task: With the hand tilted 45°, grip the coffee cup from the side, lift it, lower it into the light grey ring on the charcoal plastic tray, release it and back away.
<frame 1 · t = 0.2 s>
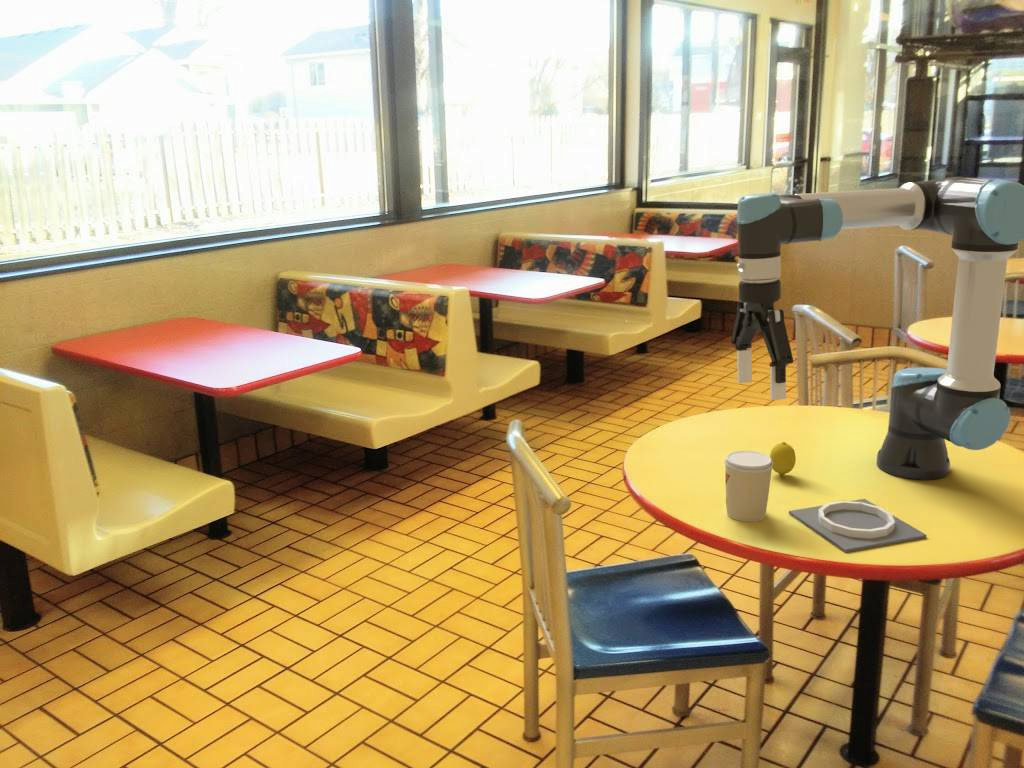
hand: (760, 390, 170), 27 cm above the table, tool pointing down, fingers open, 13 cm apart
cup tray: (855, 525, 175), on the table
lemon: (781, 476, 200), on the table
coffee cup: (745, 514, 181), on the table
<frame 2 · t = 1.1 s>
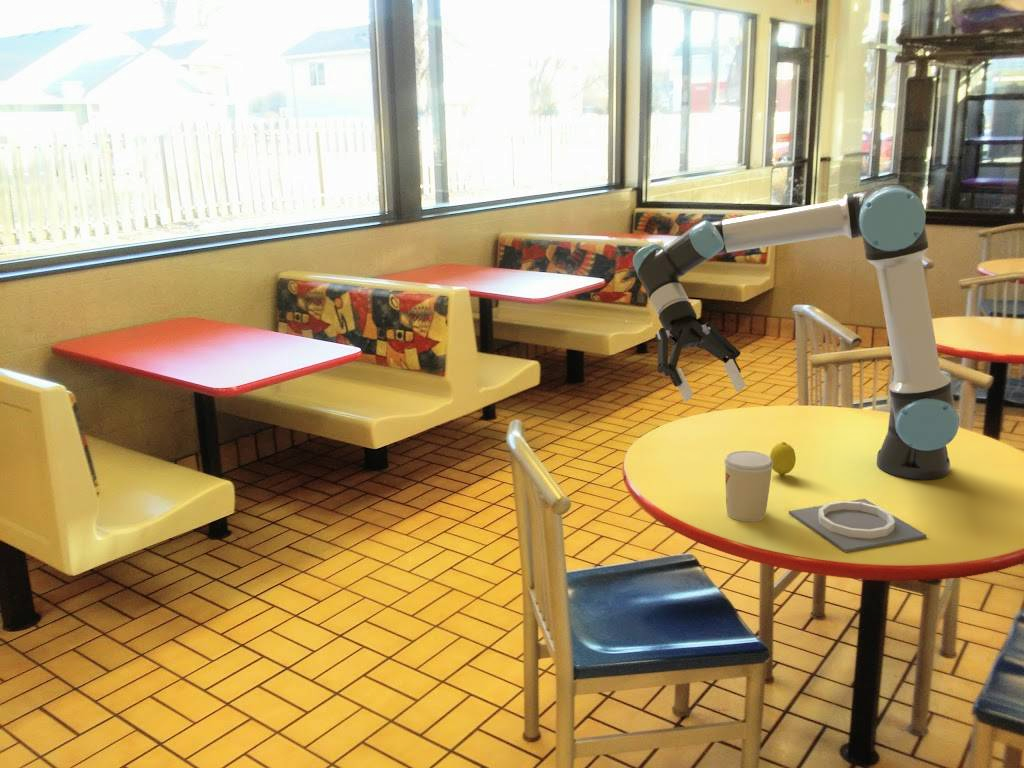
hand: (715, 393, 184), 23 cm above the table, tool tilted 45°, fingers open, 13 cm apart
nothing on the table moved.
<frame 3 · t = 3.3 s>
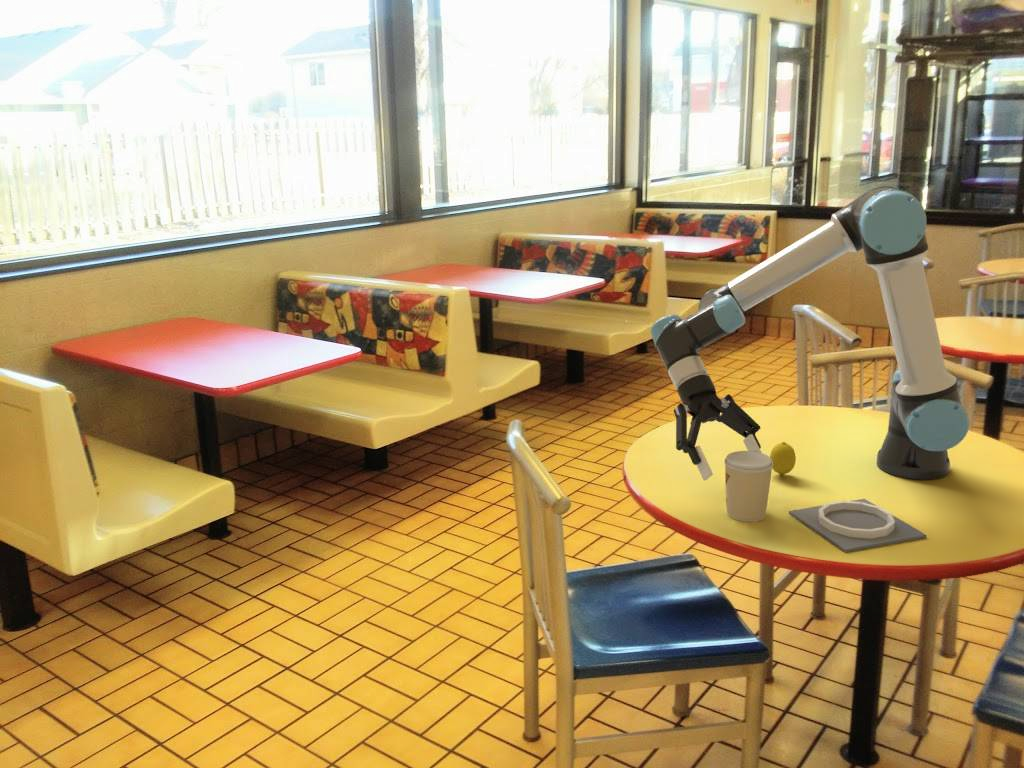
hand: (735, 471, 181), 8 cm above the table, tool tilted 45°, fingers open, 13 cm apart
nothing on the table moved.
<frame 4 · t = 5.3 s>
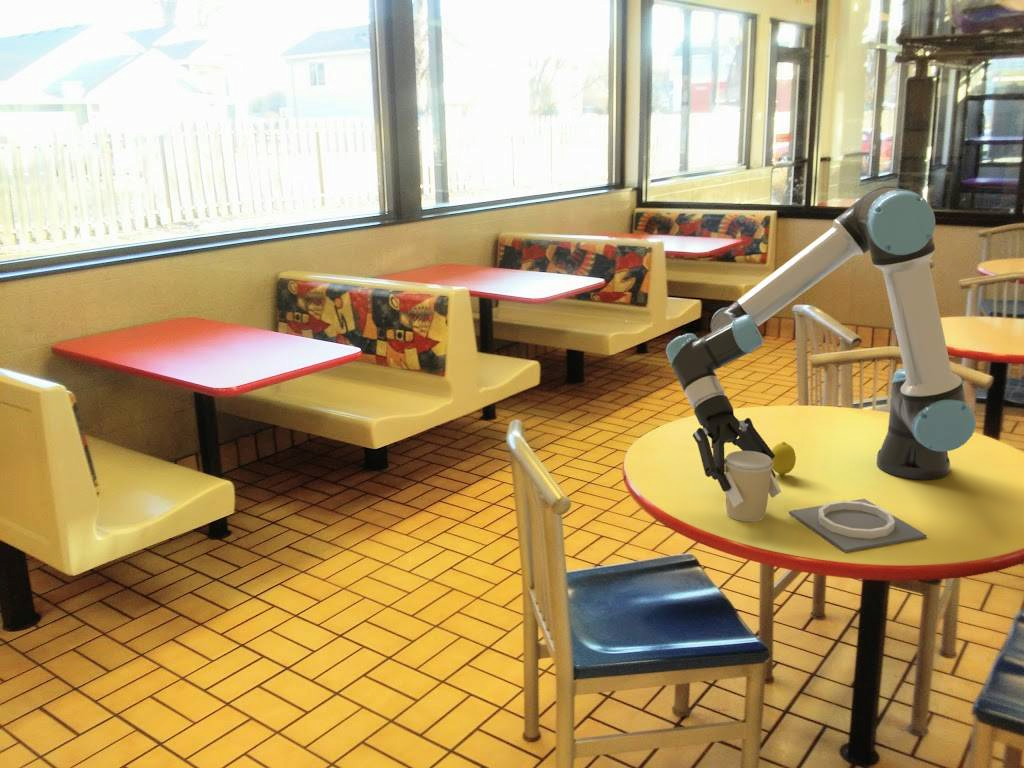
hand: (757, 499, 177), 4 cm above the table, tool tilted 45°, fingers closed on coffee cup, 9 cm apart
coffee cup: (745, 514, 181), on the table, touching gripper
everything else where it was.
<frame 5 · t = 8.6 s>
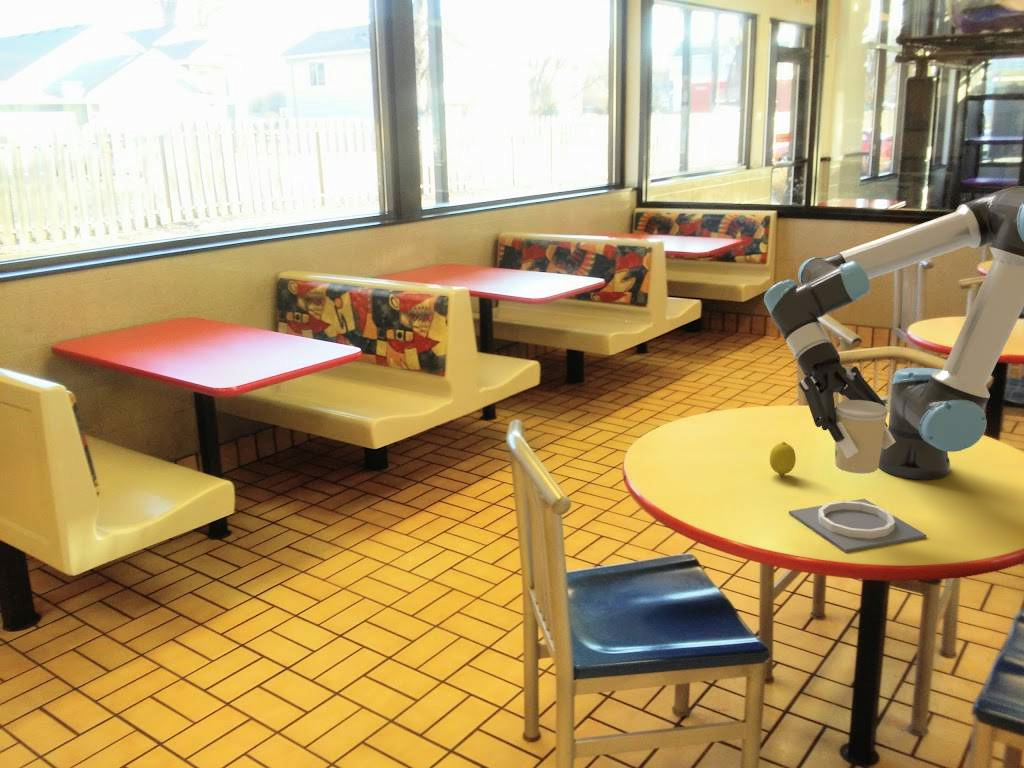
hand: (871, 450, 168), 17 cm above the table, tool tilted 45°, fingers closed on coffee cup, 9 cm apart
coffee cup: (856, 467, 172), point 12 cm above the table, touching gripper
everything else where it was.
when the fingers open (6 cm above the table, at t = 12.2 s): coffee cup drops 1 cm, resting on cup tray.
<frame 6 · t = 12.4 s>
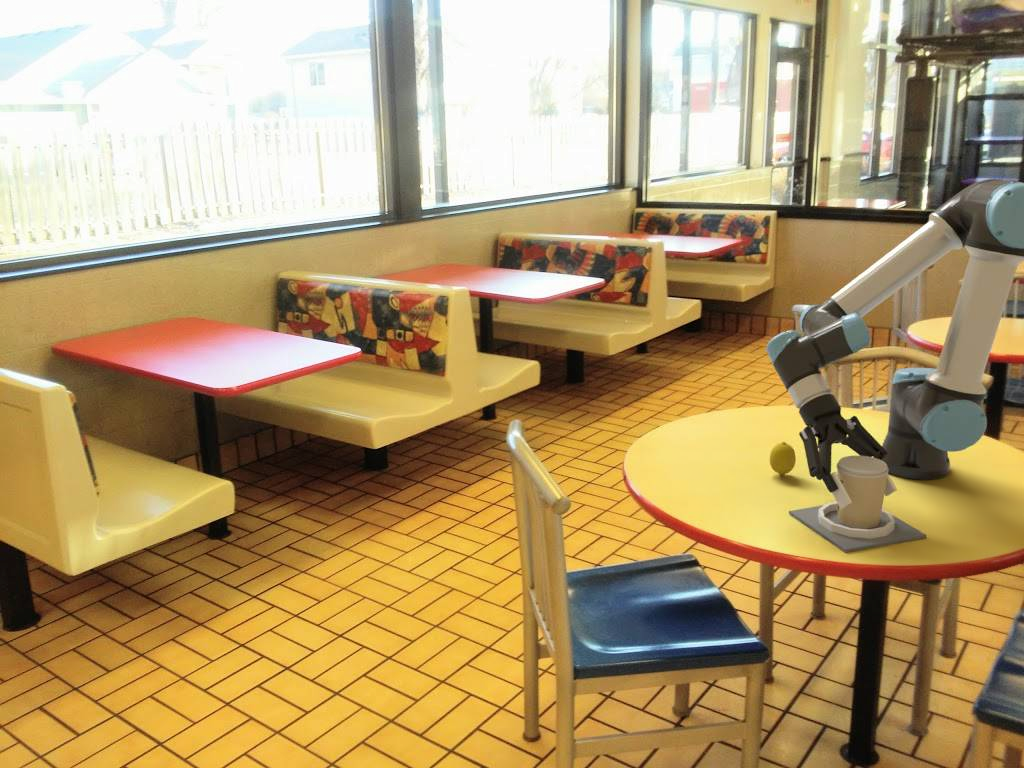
hand: (869, 499, 171), 7 cm above the table, tool tilted 45°, fingers open, 11 cm apart
coffee cup: (858, 521, 176), resting on cup tray, touching gripper
everything else where it was.
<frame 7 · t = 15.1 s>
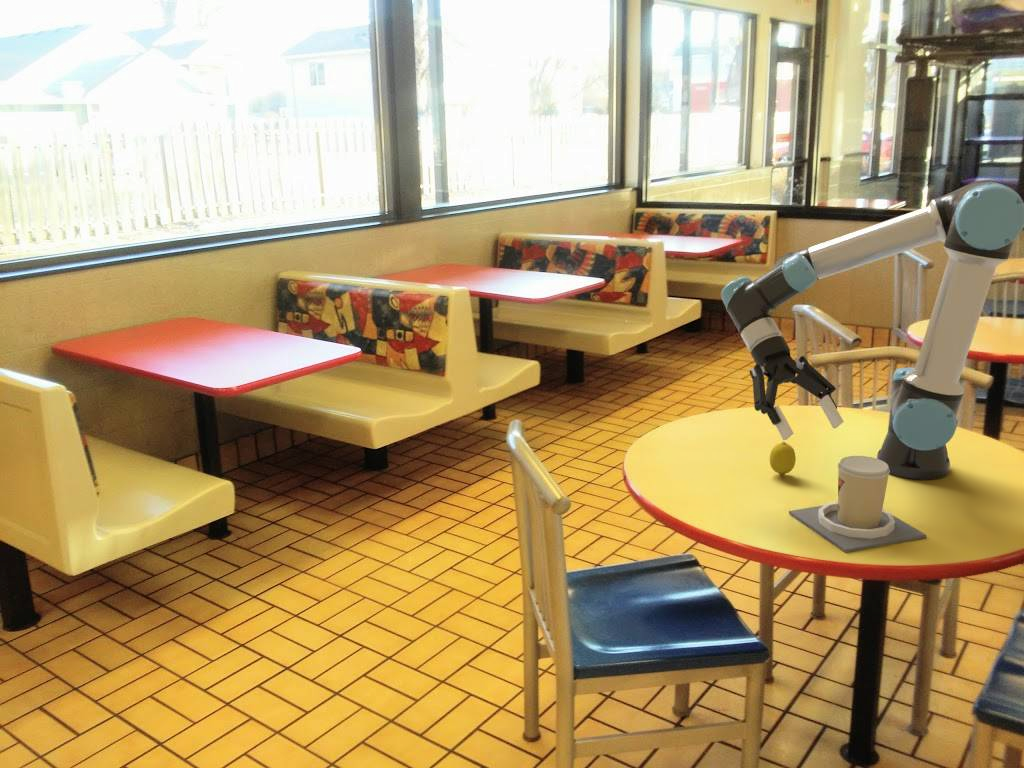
hand: (814, 431, 180), 16 cm above the table, tool tilted 45°, fingers open, 13 cm apart
coffee cup: (858, 521, 176), resting on cup tray
everything else where it was.
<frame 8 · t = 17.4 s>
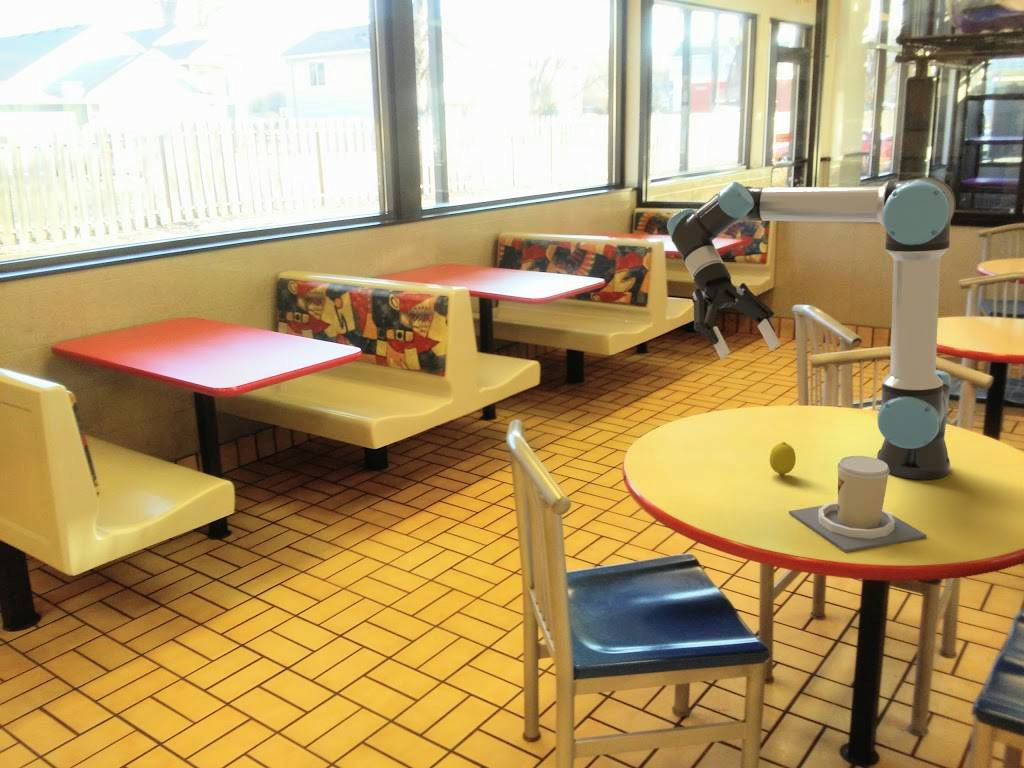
hand: (751, 351, 189), 30 cm above the table, tool tilted 45°, fingers open, 13 cm apart
nothing on the table moved.
at the end: coffee cup 1.1 cm from the cup tray (horizontally); coffee cup resting on cup tray; coffee cup tilted 0° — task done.
